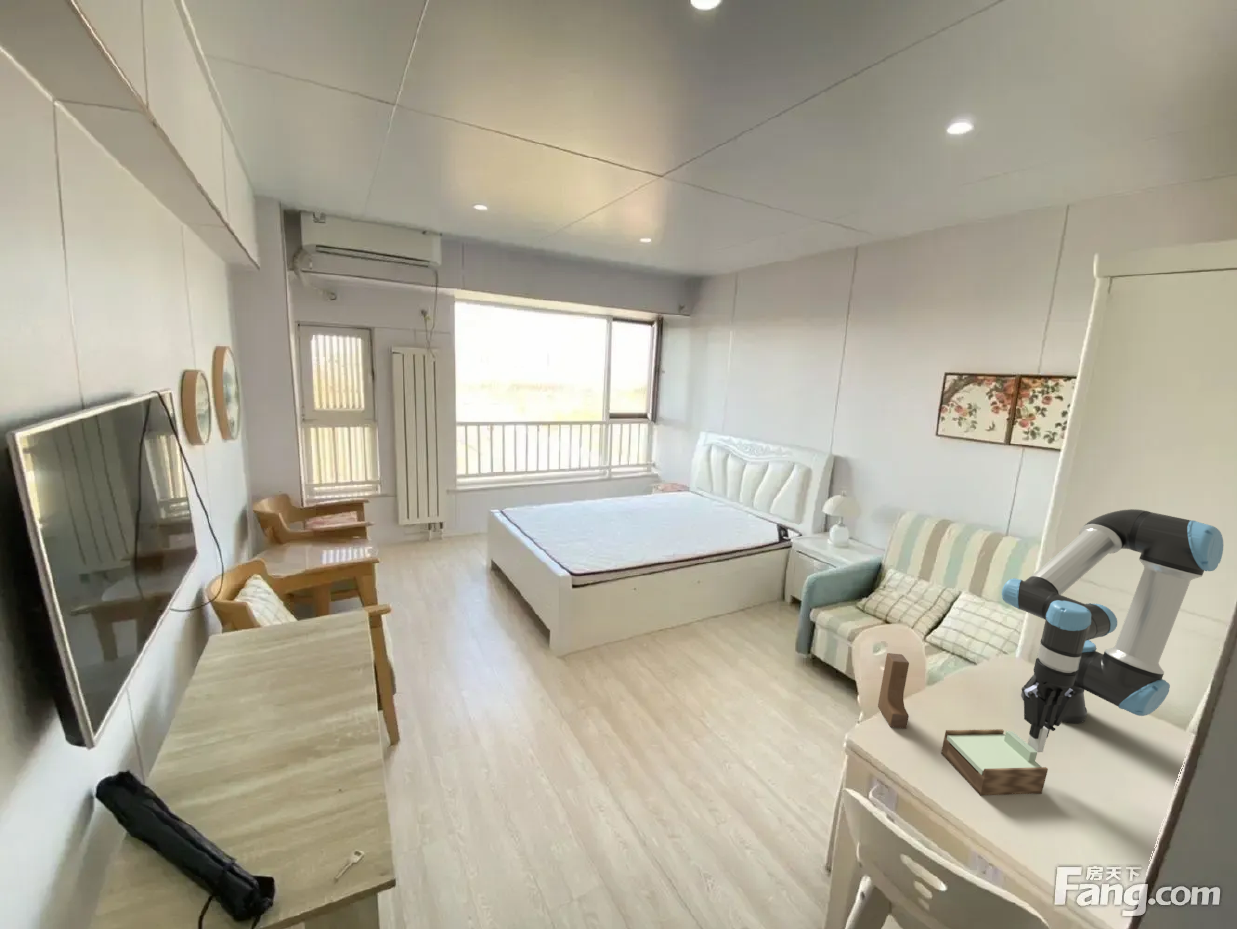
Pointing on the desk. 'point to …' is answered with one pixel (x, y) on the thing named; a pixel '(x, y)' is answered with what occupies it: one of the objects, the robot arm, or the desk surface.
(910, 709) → the desk surface
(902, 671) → the wooden block
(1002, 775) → the box
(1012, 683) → the desk surface
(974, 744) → the lid
